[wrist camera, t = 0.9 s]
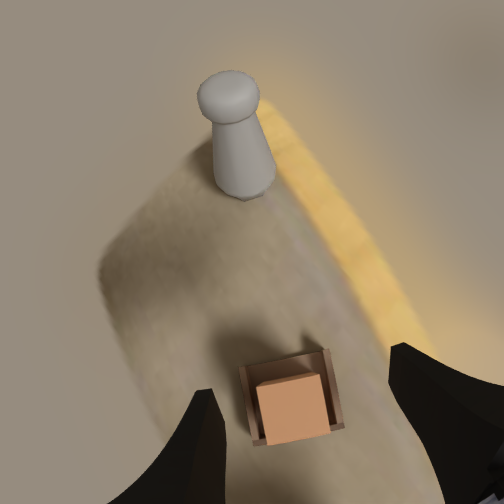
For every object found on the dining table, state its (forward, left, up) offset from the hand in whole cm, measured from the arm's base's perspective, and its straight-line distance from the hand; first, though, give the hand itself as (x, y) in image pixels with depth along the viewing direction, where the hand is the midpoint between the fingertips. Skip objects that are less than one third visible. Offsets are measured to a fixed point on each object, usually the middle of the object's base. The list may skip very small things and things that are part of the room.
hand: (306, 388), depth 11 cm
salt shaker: (+19, +1, -14) cm, 23 cm away
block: (-2, +1, -13) cm, 14 cm away
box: (-2, +1, -14) cm, 14 cm away
